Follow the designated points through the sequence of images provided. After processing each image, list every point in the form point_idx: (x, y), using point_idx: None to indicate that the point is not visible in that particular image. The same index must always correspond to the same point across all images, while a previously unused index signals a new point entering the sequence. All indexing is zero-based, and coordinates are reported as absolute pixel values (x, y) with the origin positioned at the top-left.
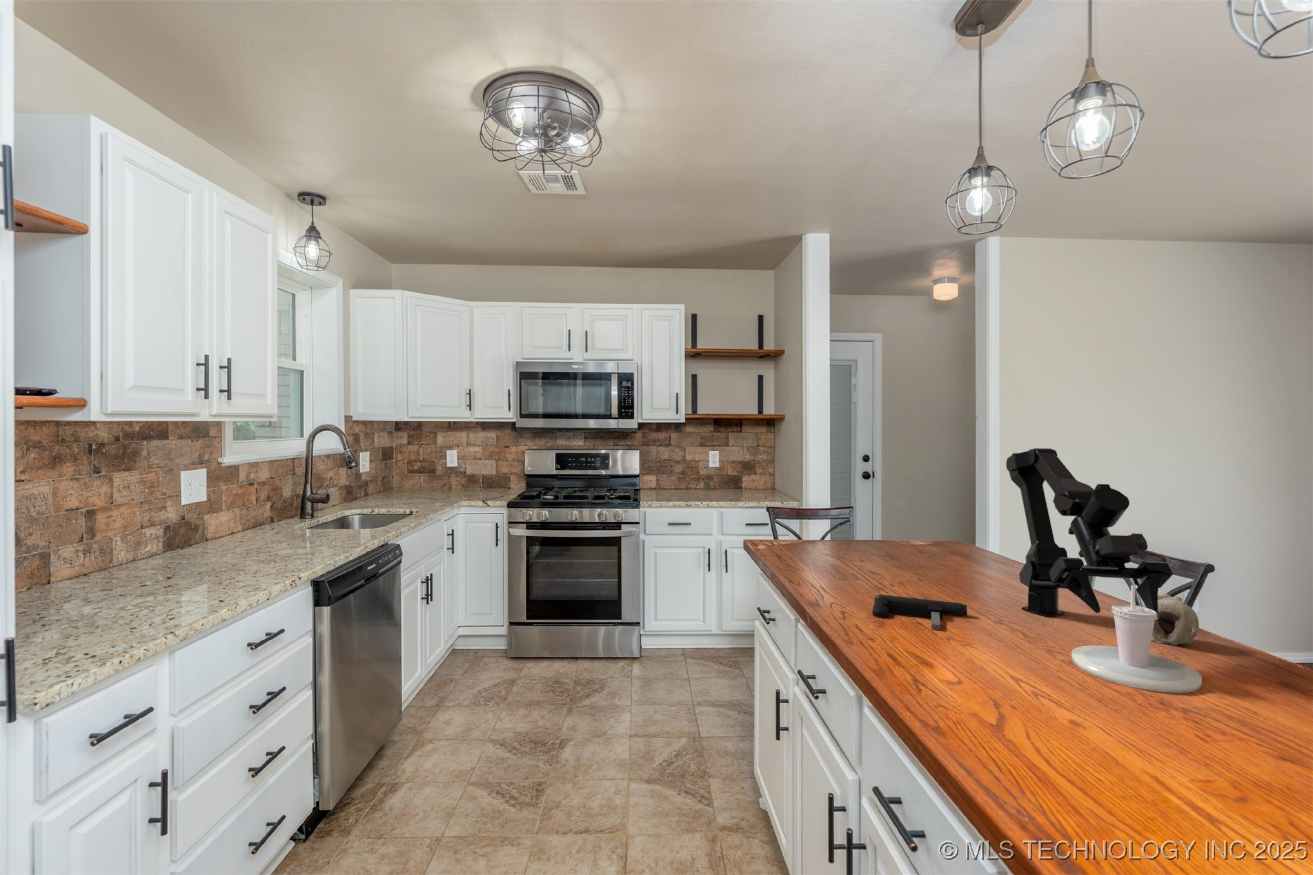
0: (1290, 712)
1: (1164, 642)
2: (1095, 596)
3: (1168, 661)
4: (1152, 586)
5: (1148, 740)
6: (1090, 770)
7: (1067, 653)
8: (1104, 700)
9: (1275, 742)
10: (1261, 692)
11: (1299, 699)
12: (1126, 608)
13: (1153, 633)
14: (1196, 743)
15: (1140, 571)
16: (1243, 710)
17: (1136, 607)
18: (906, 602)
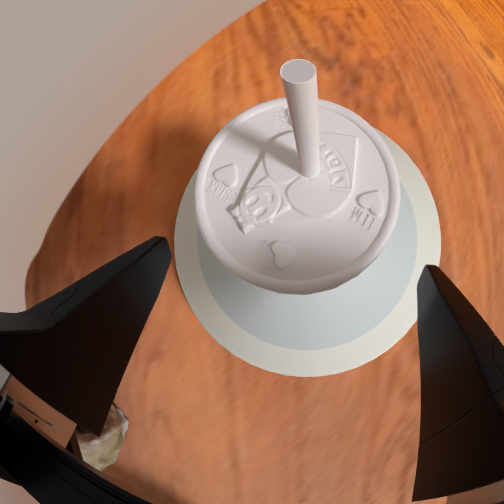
0: (162, 90)
1: (113, 405)
2: (455, 315)
3: (196, 262)
4: (46, 317)
5: (424, 15)
6: (479, 4)
7: (402, 347)
8: (446, 91)
9: (272, 12)
10: (131, 158)
11: (105, 144)
12: (342, 175)
13: (117, 424)
14: (374, 6)
15: (10, 446)
16: (228, 76)
17: (264, 203)
18: None
